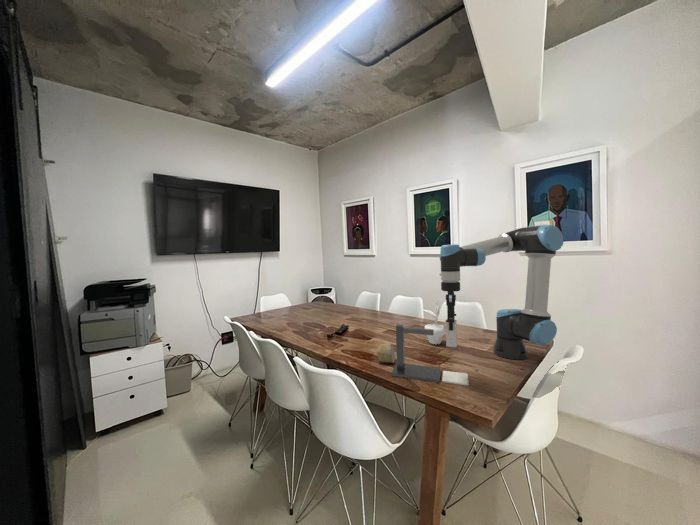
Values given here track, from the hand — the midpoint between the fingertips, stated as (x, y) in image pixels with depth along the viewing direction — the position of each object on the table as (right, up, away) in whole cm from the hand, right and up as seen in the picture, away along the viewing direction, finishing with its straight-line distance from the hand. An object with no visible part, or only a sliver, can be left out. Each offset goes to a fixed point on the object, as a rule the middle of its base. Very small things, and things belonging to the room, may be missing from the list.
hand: (451, 334), depth 115 cm
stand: (-13, -19, +6) cm, 24 cm away
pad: (+2, -19, 0) cm, 19 cm away
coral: (-25, -19, +20) cm, 37 cm away
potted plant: (+7, -17, +45) cm, 49 cm away
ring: (0, -4, 0) cm, 4 cm away
